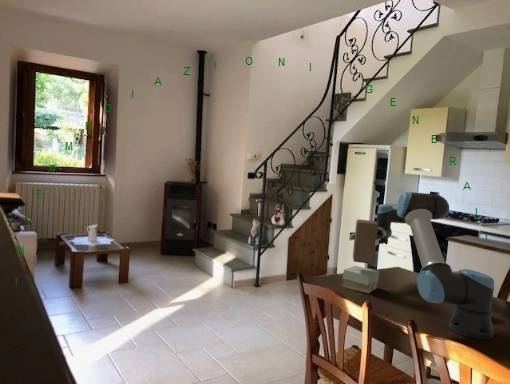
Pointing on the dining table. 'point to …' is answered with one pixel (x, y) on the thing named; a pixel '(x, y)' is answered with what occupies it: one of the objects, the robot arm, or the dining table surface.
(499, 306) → the dining table surface
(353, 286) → the tower base slab
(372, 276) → the tower top slab
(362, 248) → the block
